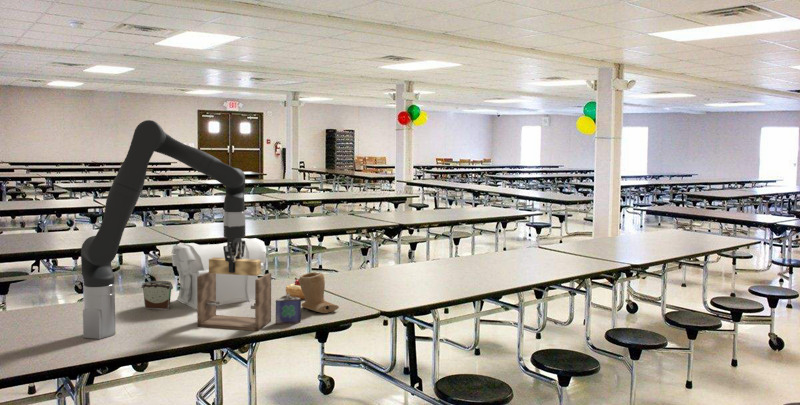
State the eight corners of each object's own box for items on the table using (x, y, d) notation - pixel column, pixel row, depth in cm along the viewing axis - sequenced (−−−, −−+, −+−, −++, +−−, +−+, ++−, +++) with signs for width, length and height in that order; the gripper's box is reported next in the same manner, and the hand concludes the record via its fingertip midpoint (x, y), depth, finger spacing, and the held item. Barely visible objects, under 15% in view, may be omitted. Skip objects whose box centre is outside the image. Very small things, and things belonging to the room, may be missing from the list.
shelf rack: (258, 330, 212) (258, 280, 211) (197, 326, 216) (197, 276, 214) (271, 321, 224) (271, 273, 223) (213, 317, 228) (212, 270, 226)
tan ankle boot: (293, 308, 243) (293, 271, 242) (318, 304, 251) (319, 268, 249) (313, 316, 232) (314, 278, 230) (339, 312, 239) (340, 274, 238)
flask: (275, 324, 220) (276, 295, 220) (274, 322, 223) (275, 293, 222) (301, 322, 223) (301, 294, 222) (300, 320, 226) (300, 292, 225)
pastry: (304, 293, 270) (305, 273, 270) (318, 298, 261) (319, 277, 261) (280, 296, 263) (280, 276, 262) (294, 301, 253) (294, 280, 253)
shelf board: (208, 273, 218) (208, 259, 218) (213, 270, 222) (213, 257, 221) (256, 275, 215) (256, 261, 215) (260, 273, 219) (260, 259, 219)
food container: (178, 305, 243) (178, 281, 242) (171, 309, 237) (171, 284, 236) (149, 304, 244) (149, 279, 244) (141, 308, 238) (141, 283, 237)
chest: (245, 289, 274) (245, 234, 272) (271, 298, 258) (271, 241, 255) (168, 300, 251) (167, 241, 248) (191, 312, 234) (191, 248, 232)
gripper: (233, 221, 225) (233, 267, 226) (215, 226, 211) (215, 274, 212) (252, 222, 223) (252, 268, 225) (236, 226, 209) (236, 275, 211)
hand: (234, 271), depth 218 cm, fingers closed on shelf board, 4 cm apart
